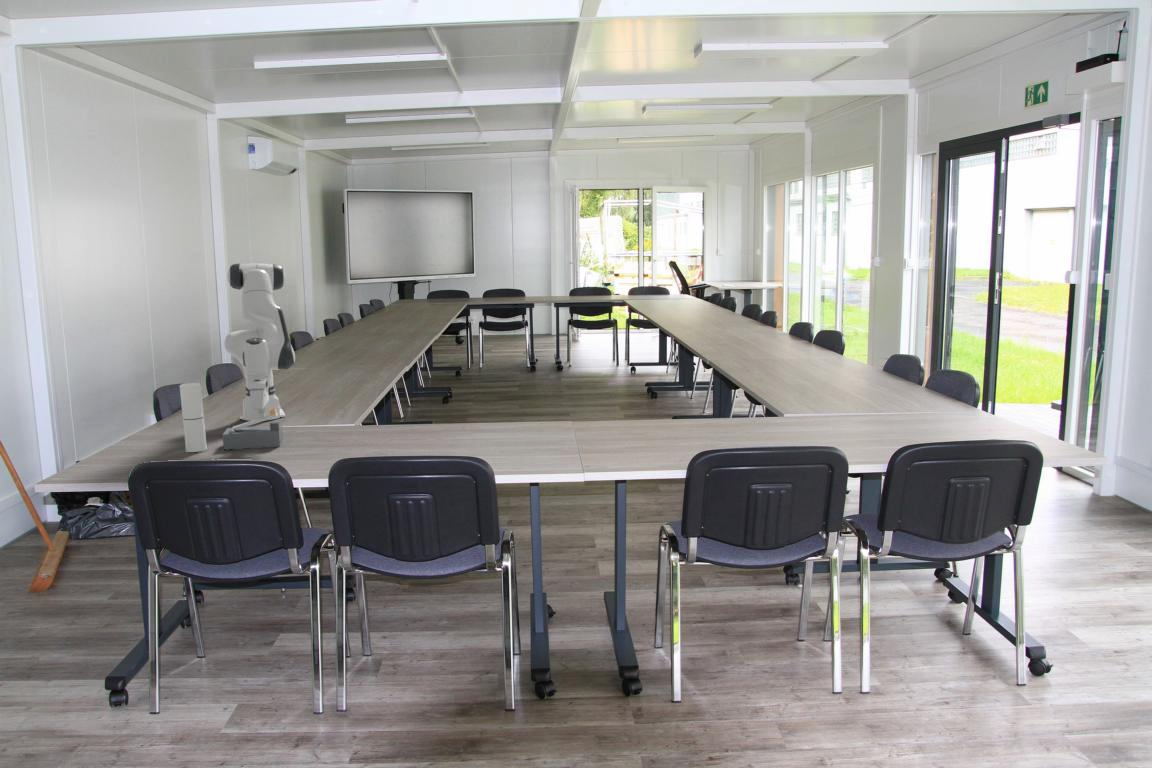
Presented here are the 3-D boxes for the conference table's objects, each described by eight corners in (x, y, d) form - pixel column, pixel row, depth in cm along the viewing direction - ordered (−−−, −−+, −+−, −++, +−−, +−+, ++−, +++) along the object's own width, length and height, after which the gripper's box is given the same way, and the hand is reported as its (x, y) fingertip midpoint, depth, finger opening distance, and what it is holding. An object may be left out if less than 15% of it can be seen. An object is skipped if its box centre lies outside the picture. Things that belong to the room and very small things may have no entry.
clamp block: (228, 443, 333) (226, 420, 331) (283, 439, 337) (281, 417, 335) (223, 450, 322) (221, 426, 321) (280, 446, 326) (278, 423, 325)
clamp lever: (233, 429, 329) (231, 422, 328) (277, 414, 332) (275, 408, 331) (232, 431, 325) (229, 425, 324) (276, 416, 328) (274, 410, 327)
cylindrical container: (188, 454, 318) (181, 387, 313) (184, 450, 323) (177, 384, 319) (208, 450, 322) (202, 384, 317) (204, 447, 327) (198, 382, 323)
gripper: (253, 378, 335) (257, 413, 337) (246, 385, 315) (249, 422, 317) (271, 377, 336) (274, 412, 338) (264, 384, 317) (268, 421, 319)
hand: (262, 417), depth 328 cm, fingers closed, pressing on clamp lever
